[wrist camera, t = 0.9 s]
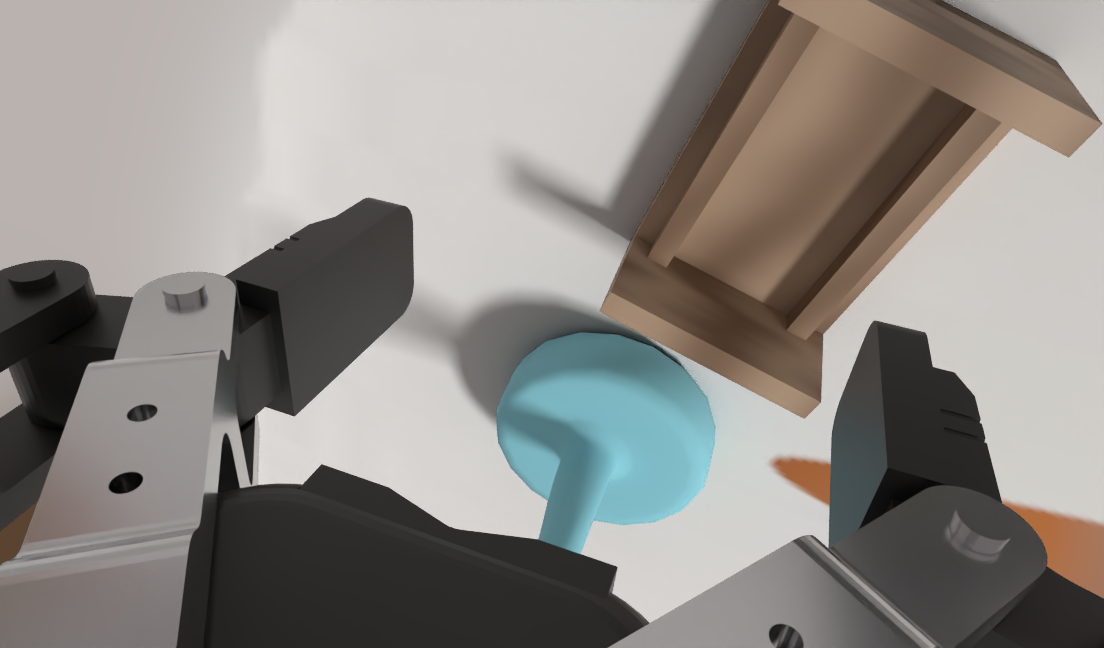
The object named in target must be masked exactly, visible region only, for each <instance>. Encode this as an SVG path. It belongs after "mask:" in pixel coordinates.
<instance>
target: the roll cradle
mask: <svg viewBox="0 0 1104 648" xmlns="http://www.w3.org/2000/svg"><path fill="white" fill-rule="evenodd" d="M1101 125H1102V123H1101V121H1100V120H1099V119H1098V117H1097V116H1096V114H1095V113H1094V112H1093V110H1092V109H1091V108H1090V106H1089V105H1088V103H1087V102H1086V101H1085V99H1084V98H1083V97H1082V95H1081V94H1080V92H1079V91H1078V90H1077V88H1076V87H1075V86H1074V84H1073V83H1072V82H1071V80H1070V79H1069V77H1068V76H1067V75H1066V73H1065V72H1064V71H1063V69H1062V68H1061V66H1060V65H1059V64H1058V62H1057V61H1056V60H1054V59H1052V58H1050V57H1048V56H1046V55H1045V54H1043V53H1041V52H1039V51H1037V50H1035V49H1033V48H1031V47H1029V46H1027V45H1026V44H1024V43H1022V42H1020V41H1018V40H1016V39H1014V38H1012V37H1010V36H1008V35H1007V34H1005V33H1003V32H1001V31H999V30H997V29H995V28H993V27H991V26H989V25H988V24H986V23H984V22H982V21H980V20H978V19H976V18H974V17H972V16H970V15H969V14H967V13H965V12H963V11H961V10H959V9H957V8H955V7H953V6H951V5H950V4H948V3H946V2H944V1H942V0H768V1H767V3H766V5H765V7H764V8H763V10H762V12H761V14H760V15H759V17H758V19H757V21H756V22H755V24H754V26H753V28H752V29H751V31H750V33H749V35H748V36H747V38H746V40H745V42H744V43H743V45H742V47H741V49H740V50H739V52H738V54H737V56H736V57H735V59H734V61H733V63H732V64H731V66H730V68H729V70H728V71H727V73H726V75H725V77H724V78H723V80H722V82H721V84H720V85H719V87H718V89H717V91H716V92H715V94H714V96H713V98H712V99H711V101H710V103H709V105H708V106H707V108H706V110H705V112H704V114H703V115H702V117H701V119H700V121H699V122H698V124H697V126H696V128H695V129H694V131H693V133H692V135H691V136H690V138H689V140H688V142H687V143H686V145H685V147H684V149H683V150H682V152H681V154H680V156H679V157H678V159H677V161H676V163H675V164H674V166H673V168H672V170H671V171H670V173H669V175H668V177H667V178H666V180H665V182H664V184H663V185H662V187H661V189H660V191H659V192H658V194H657V196H656V198H655V199H654V201H653V203H652V205H651V206H650V208H649V210H648V212H647V213H646V215H645V217H644V219H643V220H642V222H641V224H640V226H639V227H638V229H637V231H636V233H635V234H634V236H633V238H632V240H631V241H630V244H629V246H628V248H627V250H626V253H625V255H624V257H623V259H622V262H621V264H620V266H619V268H618V271H617V273H616V275H615V277H614V280H613V282H612V284H611V286H610V289H609V291H608V293H607V295H606V298H605V300H604V302H603V304H602V307H601V309H600V312H601V313H603V314H605V315H607V316H609V317H611V318H613V319H615V320H617V321H619V322H621V323H622V324H624V325H626V326H628V327H630V328H632V329H634V330H636V331H638V332H640V333H642V334H643V335H645V336H647V337H649V338H651V339H653V340H655V341H657V342H659V343H661V344H663V345H664V346H666V347H668V348H670V349H672V350H674V351H676V352H678V353H680V354H682V355H684V356H685V357H687V358H689V359H691V360H693V361H695V362H697V363H699V364H701V365H703V366H705V367H706V368H708V369H710V370H712V371H714V372H716V373H718V374H720V375H722V376H724V377H726V378H727V379H729V380H731V381H733V382H735V383H737V384H739V385H741V386H743V387H745V388H747V389H748V390H750V391H752V392H754V393H756V394H758V395H760V396H762V397H764V398H766V399H768V400H769V401H771V402H773V403H775V404H777V405H779V406H781V407H783V408H785V409H787V410H789V411H790V412H792V413H794V414H796V415H798V416H800V417H802V418H804V419H805V418H806V417H807V416H808V415H809V414H810V413H811V412H812V411H813V410H814V409H815V408H816V407H817V406H818V405H819V404H820V403H821V385H822V355H823V334H824V333H825V332H826V331H827V330H828V328H829V327H830V326H831V325H832V324H833V323H834V322H835V321H836V320H837V319H838V318H839V316H840V315H841V314H842V313H843V312H844V311H845V310H846V309H847V308H848V307H849V306H850V304H851V303H852V302H853V301H854V300H855V299H856V298H857V297H858V296H859V295H860V294H861V292H862V291H863V290H864V289H865V288H866V287H867V286H868V285H869V284H870V283H871V282H872V280H873V279H874V278H875V277H876V276H877V275H878V274H879V273H880V272H881V271H882V270H883V268H884V267H885V266H886V265H887V264H888V263H889V262H890V261H891V260H892V259H893V258H894V257H895V255H896V254H897V253H898V252H899V251H900V250H901V249H902V248H903V247H904V246H905V245H906V243H907V242H908V241H909V240H910V239H911V238H912V237H913V236H914V235H915V234H916V233H917V231H918V230H919V229H920V228H921V227H922V226H923V225H924V224H925V223H926V222H927V221H928V219H929V218H930V217H931V216H932V215H933V214H934V213H935V212H936V211H937V210H938V209H939V207H940V206H941V205H942V204H943V203H944V202H945V201H946V200H947V199H948V198H949V197H950V195H951V194H952V193H953V192H954V191H955V190H956V189H957V188H958V187H959V186H960V185H961V183H962V182H963V181H964V180H965V179H966V178H967V177H968V176H969V175H970V174H971V173H972V172H973V170H974V169H975V168H976V167H977V166H978V165H979V164H980V163H981V162H982V161H983V160H984V158H985V157H986V156H987V155H988V154H989V153H990V152H991V151H992V150H993V149H994V148H995V146H996V145H997V144H998V143H999V142H1000V141H1001V140H1002V139H1003V138H1004V137H1005V136H1006V134H1007V133H1008V132H1009V131H1010V130H1011V129H1012V128H1013V129H1015V130H1017V131H1019V132H1021V133H1023V134H1025V135H1027V136H1029V137H1031V138H1032V139H1034V140H1036V141H1038V142H1040V143H1042V144H1044V145H1046V146H1048V147H1050V148H1051V149H1053V150H1055V151H1057V152H1059V153H1061V154H1063V155H1065V156H1067V157H1070V156H1071V155H1072V154H1073V153H1074V152H1075V151H1076V150H1077V149H1078V148H1079V147H1080V146H1081V145H1082V144H1083V143H1084V142H1085V141H1086V140H1087V139H1088V138H1089V137H1090V136H1091V135H1092V134H1093V133H1094V132H1095V131H1096V130H1097V129H1098V128H1099V127H1100V126H1101Z"/></svg>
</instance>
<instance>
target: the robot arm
mask: <svg viewBox="0 0 1104 648" xmlns="http://www.w3.org/2000/svg"><path fill="white" fill-rule="evenodd" d="M413 286H414V266H413V219H412V214H411V212H410V210H409V209H408V208H407V207H406V206H402V205H398V204H394V203H390V202H385V201H381V200H377V199H373V198H365V199H363V200H362V201H360V202H358V203H357V204H355V205H354V206H352V207H350V208H349V209H347V210H346V211H344V212H342V213H341V214H339V215H338V216H336V217H333V218H330V219H326V220H323V221H320V222H316V223H313V224H310V225H308V226H306V227H305V228H303V229H301V230H300V231H298V232H296V233H295V234H293V235H292V236H290V239H285V240H283V241H282V242H280V243H278V244H277V245H275V246H274V249H271V248H270V249H269V250H267V251H265V252H264V253H262V254H260V255H259V256H257V257H256V258H254V259H252V260H251V261H249V262H247V263H246V264H244V265H242V266H241V267H239V268H237V269H236V270H234V271H233V272H231V273H229V274H228V275H226V276H221V275H218V274H214V273H207V272H186V273H178V274H173V275H169V276H165V277H162V278H159V279H156V280H154V281H152V282H150V283H148V284H146V285H144V286H143V287H142V288H140V289H139V290H138V291H137V292H136V294H135V295H134V297H121V296H107V295H95V292H94V289H93V286H92V282H91V279H90V275H89V272H88V270H87V269H86V268H85V267H84V266H82V265H80V264H77V263H74V262H70V261H63V260H44V261H43V260H42V261H34V262H28V263H23V264H19V265H15V266H11V267H9V268H5V269H3V270H1V271H0V372H2V371H3V370H5V369H7V368H9V370H10V373H11V375H12V378H13V381H14V383H15V386H16V388H17V391H18V393H19V395H20V398H21V400H22V404H21V405H19V406H18V407H16V408H15V409H13V410H12V411H10V412H9V413H7V414H6V415H4V416H3V417H1V418H0V531H1V530H3V529H4V528H5V527H6V526H7V525H9V524H10V523H11V522H13V521H14V520H15V519H16V518H17V517H19V516H20V515H21V514H22V513H24V512H25V511H26V510H27V509H29V508H30V507H31V506H32V505H34V504H35V503H36V502H37V501H38V500H39V501H38V503H37V507H36V509H35V512H34V515H33V518H32V520H31V523H30V526H29V529H28V531H27V534H26V537H25V540H24V543H23V545H22V547H21V550H20V552H19V553H18V554H17V556H16V557H15V558H13V559H12V560H9V561H6V562H4V563H3V564H1V565H0V648H1104V599H1103V598H1101V597H1099V596H1097V595H1096V594H1094V593H1092V592H1090V591H1088V590H1086V589H1084V588H1082V587H1080V586H1078V585H1076V584H1074V583H1073V582H1071V581H1069V580H1067V579H1065V578H1064V577H1062V576H1060V575H1059V574H1057V573H1056V572H1054V571H1053V570H1051V569H1050V568H1048V567H1047V553H1046V549H1045V547H1044V545H1043V542H1042V540H1041V539H1040V537H1039V536H1038V534H1037V533H1036V532H1035V531H1034V529H1033V528H1032V527H1031V526H1030V525H1029V524H1028V523H1027V522H1026V521H1025V520H1024V519H1023V518H1022V517H1021V516H1020V515H1018V514H1017V513H1016V512H1014V511H1013V510H1012V509H1010V508H1009V507H1007V506H1005V505H1004V504H1002V501H1001V497H1000V493H999V489H998V485H997V482H996V478H995V474H994V470H993V466H992V462H991V458H990V454H989V450H988V446H987V443H984V441H985V435H984V431H983V427H982V424H980V415H979V411H978V407H977V404H976V400H975V396H974V395H973V394H972V393H971V391H970V390H969V389H968V388H967V387H966V386H965V384H964V383H963V382H962V381H961V380H960V379H959V377H958V376H957V375H956V374H955V373H954V372H950V371H946V370H942V369H938V368H934V367H933V366H932V361H931V355H930V350H929V344H928V339H927V335H926V333H925V332H921V331H917V330H913V329H908V328H904V327H900V326H896V325H892V324H888V323H883V322H879V321H873V322H872V324H871V325H870V327H869V329H868V331H867V334H866V336H865V338H864V341H863V343H862V346H861V349H860V351H859V354H858V356H857V359H856V361H855V364H854V366H853V369H852V371H851V374H850V376H849V379H848V382H847V384H846V387H845V389H844V392H843V394H842V397H841V399H840V402H839V405H838V408H837V412H836V416H835V420H834V424H833V430H832V443H831V480H830V481H831V482H830V515H829V548H827V547H826V546H825V545H824V544H822V543H821V542H820V541H819V540H818V539H817V538H816V537H814V536H812V535H806V536H802V537H799V538H797V539H795V540H793V541H791V542H790V543H788V544H786V545H784V546H783V547H781V548H779V549H778V550H776V551H774V552H772V553H771V554H769V555H767V556H765V557H764V558H762V559H760V560H758V561H757V562H755V563H753V564H752V565H750V566H748V567H746V568H745V569H743V570H741V571H739V572H738V573H736V574H734V575H733V576H731V577H729V578H727V579H726V580H724V581H722V582H720V583H719V584H717V585H715V586H714V587H712V588H710V589H708V590H707V591H705V592H703V593H701V594H700V595H698V596H696V597H694V598H693V599H691V600H689V601H688V602H686V603H684V604H682V605H681V606H679V607H677V608H675V609H674V610H672V611H670V612H669V613H667V614H665V615H663V616H662V617H660V618H658V619H656V620H655V621H653V622H651V623H649V622H648V621H647V620H646V619H645V618H644V617H643V616H642V615H641V614H640V613H639V612H637V611H636V610H635V609H634V608H632V607H631V606H630V605H629V604H627V603H626V602H625V601H623V600H622V599H620V598H619V597H617V596H616V595H614V594H612V591H613V586H614V581H615V577H616V572H617V567H616V566H613V565H610V564H607V563H605V562H602V561H599V560H596V559H593V558H590V557H587V556H584V555H582V554H579V553H576V552H573V551H570V550H567V549H564V548H561V547H558V546H556V545H553V544H550V543H547V542H544V541H541V540H537V539H529V538H521V537H514V536H506V535H498V534H490V533H482V532H474V531H466V530H459V529H454V528H452V527H449V526H447V525H445V524H444V523H442V522H441V521H439V520H438V519H436V518H435V517H433V516H431V515H430V514H428V513H427V512H425V511H424V510H422V509H421V508H419V507H418V506H416V505H415V504H413V503H412V502H410V501H408V500H407V499H405V498H404V497H402V496H401V495H399V494H398V493H396V492H395V491H393V490H392V489H390V488H388V487H386V486H383V485H380V484H377V483H374V482H371V481H368V480H365V479H362V478H360V477H357V476H354V475H351V474H348V473H345V472H342V471H339V470H337V469H334V468H331V467H328V466H325V465H322V464H321V465H320V467H319V468H318V469H317V470H316V471H315V472H314V473H313V474H312V475H311V476H310V477H309V478H308V480H307V481H306V482H305V483H304V484H303V485H301V484H266V485H258V467H259V433H260V429H259V422H258V416H257V413H259V412H260V411H261V410H262V409H263V408H264V407H268V408H271V409H274V410H277V411H280V412H283V413H286V414H289V415H292V416H296V415H297V414H298V413H299V412H300V411H301V410H302V409H303V408H304V407H305V406H306V405H307V404H308V403H309V402H310V401H311V400H313V399H314V398H315V397H316V396H317V395H318V394H319V393H320V392H321V391H322V390H323V389H324V388H325V387H326V386H327V385H328V384H330V383H331V382H332V381H333V380H334V379H335V378H336V377H337V376H338V375H339V374H340V373H341V372H342V371H343V370H344V369H345V368H347V367H348V366H349V365H350V364H351V363H352V362H353V361H354V360H355V359H356V358H357V357H358V356H359V355H360V354H361V353H362V352H364V351H365V350H366V349H367V348H368V347H369V346H370V345H371V344H372V343H373V342H374V341H375V340H376V339H377V338H378V337H379V336H381V335H382V334H383V333H384V332H385V331H386V330H387V329H388V328H389V327H390V326H391V325H392V324H393V323H394V322H395V321H396V320H398V319H399V318H400V317H401V316H402V315H403V313H404V312H405V311H406V309H407V307H408V305H409V303H410V300H411V297H412V293H413Z"/></svg>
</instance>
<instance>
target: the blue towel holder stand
mask: <svg viewBox="0 0 1104 648" xmlns="http://www.w3.org/2000/svg"><path fill="white" fill-rule="evenodd" d="M496 417H497V435H498V443H499V445H500V447H501V449H502V451H503V453H504V455H505V457H506V459H507V461H508V463H509V465H510V468H511V469H512V470H513V471H514V472H515V473H516V474H517V475H518V476H519V477H520V478H521V479H522V480H523V481H524V482H525V483H526V485H527V486H528V487H529V488H530V489H531V490H532V491H534V492H536V493H537V494H539V495H540V496H542V497H543V498H545V499H546V500H548V503H547V507H546V511H545V516H544V520H543V524H542V528H541V532H540V536H539V539H538V540H541V541H544V542H547V543H550V544H553V545H556V546H558V547H561V548H564V549H567V550H570V551H573V552H576V553H579V554H581V552H582V549H583V546H584V543H585V541H586V538H587V535H588V533H589V530H590V528H591V525H592V522H593V520H594V521H600V522H607V523H613V524H619V525H630V524H641V523H652V522H656V521H659V520H661V519H663V518H666V517H668V516H670V515H673V514H675V513H677V512H680V511H681V510H682V509H684V508H685V507H686V506H687V505H688V504H689V503H690V502H691V501H692V499H693V498H694V497H695V496H696V495H697V494H698V493H699V492H700V491H701V490H702V488H703V487H704V485H705V481H706V478H707V474H708V471H709V466H710V462H711V458H712V453H713V449H714V444H715V424H714V420H713V416H712V413H711V409H710V406H709V402H708V398H707V397H706V396H705V394H704V393H703V392H702V390H701V389H700V388H699V386H698V385H697V384H696V383H695V381H694V380H693V379H692V377H691V376H690V375H689V373H688V372H687V371H686V370H685V369H684V368H683V367H681V366H680V365H678V364H677V363H676V362H674V361H673V360H671V359H670V358H668V357H667V356H666V355H664V354H663V353H661V352H660V351H658V350H657V349H656V348H654V347H653V346H650V345H647V344H644V343H641V342H638V341H635V340H632V339H630V338H627V337H624V336H621V335H618V334H602V333H587V332H580V333H575V334H571V335H567V336H563V337H559V338H555V339H552V340H548V341H545V342H544V343H543V344H541V345H540V346H539V347H537V348H536V349H535V350H533V351H532V352H531V353H529V354H528V355H527V356H525V357H524V358H523V359H522V361H521V362H520V364H519V365H518V366H517V368H516V369H515V371H514V372H513V374H512V377H511V379H510V381H509V383H508V385H507V387H506V389H505V391H504V393H503V395H502V398H501V400H500V402H499V404H498V407H497V409H496Z"/></svg>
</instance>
